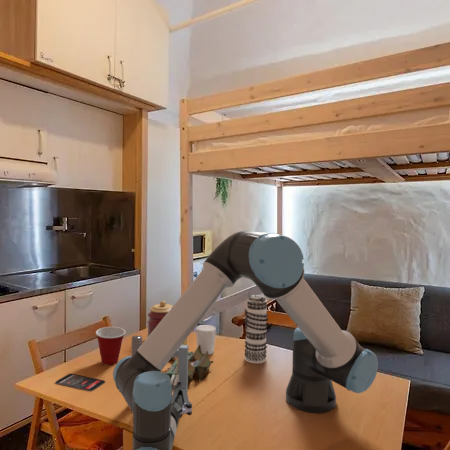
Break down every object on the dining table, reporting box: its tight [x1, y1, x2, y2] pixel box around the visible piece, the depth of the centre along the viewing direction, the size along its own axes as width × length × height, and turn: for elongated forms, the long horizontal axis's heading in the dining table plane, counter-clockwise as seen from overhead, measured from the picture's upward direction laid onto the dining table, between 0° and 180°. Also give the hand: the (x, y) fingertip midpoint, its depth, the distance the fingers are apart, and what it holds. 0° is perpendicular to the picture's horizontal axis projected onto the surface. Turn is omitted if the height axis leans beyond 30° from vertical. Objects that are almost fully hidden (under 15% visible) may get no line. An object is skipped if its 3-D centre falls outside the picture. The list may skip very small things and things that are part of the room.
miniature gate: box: [161, 345, 214, 382], centre depth 135 cm, size 27×6×30 cm
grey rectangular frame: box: [172, 344, 189, 408], centre depth 110 cm, size 12×2×18 cm, turn 86°
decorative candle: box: [244, 294, 269, 364], centre depth 146 cm, size 9×9×25 cm
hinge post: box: [131, 335, 143, 356], centre depth 111 cm, size 3×3×20 cm
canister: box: [147, 300, 174, 337], centre depth 165 cm, size 13×13×18 cm
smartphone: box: [54, 373, 106, 392], centre depth 123 cm, size 7×1×15 cm
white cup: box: [195, 324, 217, 356], centre depth 152 cm, size 8×8×10 cm
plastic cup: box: [95, 326, 126, 366], centre depth 140 cm, size 11×11×12 cm
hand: (175, 378), depth 108 cm, fingers closed
